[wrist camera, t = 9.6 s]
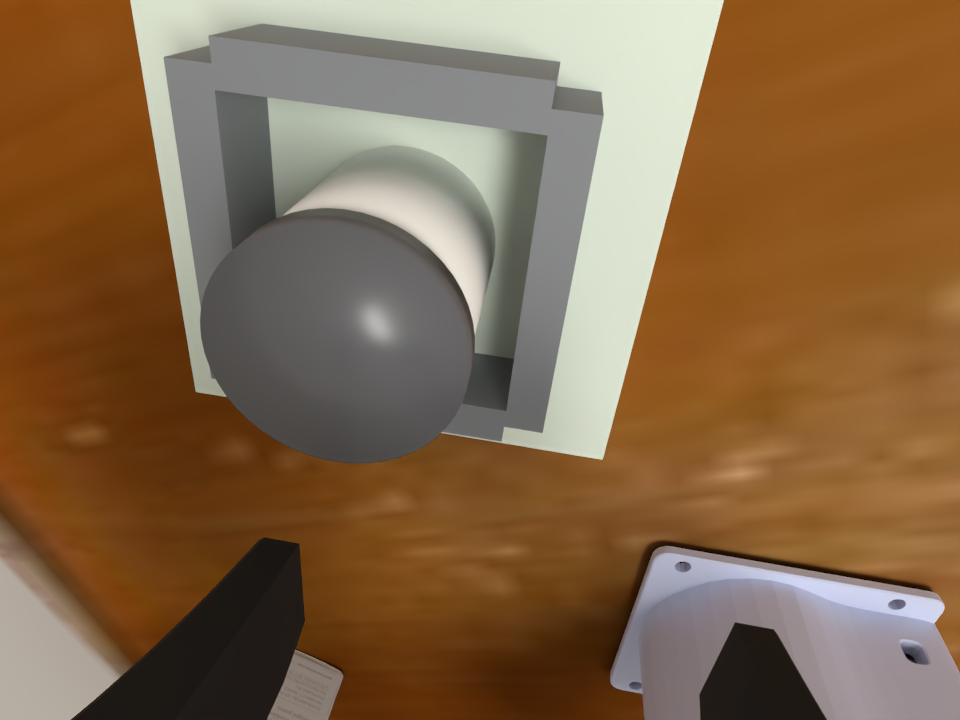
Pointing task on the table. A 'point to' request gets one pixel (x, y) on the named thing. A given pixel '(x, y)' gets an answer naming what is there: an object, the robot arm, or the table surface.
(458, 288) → the lens cylinder
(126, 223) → the table surface
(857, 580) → the robot arm
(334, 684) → the skincare box
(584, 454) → the mount board
